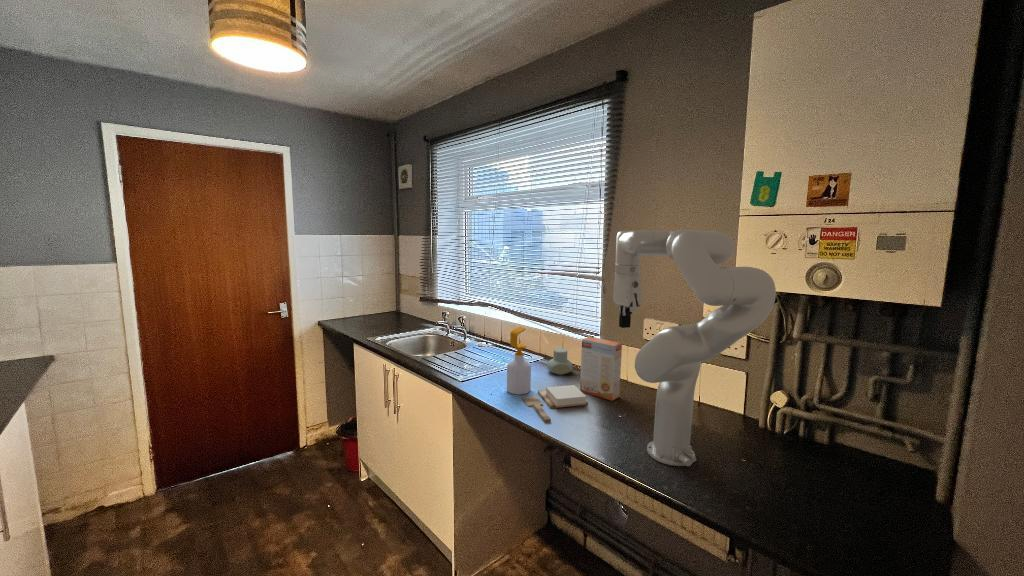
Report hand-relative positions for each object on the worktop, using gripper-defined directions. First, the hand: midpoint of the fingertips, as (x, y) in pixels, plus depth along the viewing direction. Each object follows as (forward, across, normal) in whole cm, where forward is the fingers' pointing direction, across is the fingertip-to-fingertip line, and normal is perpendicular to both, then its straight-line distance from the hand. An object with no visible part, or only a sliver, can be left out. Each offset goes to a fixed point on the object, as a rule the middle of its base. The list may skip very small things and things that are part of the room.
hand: (624, 326), depth 136 cm
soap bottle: (+31, +31, +26) cm, 51 cm away
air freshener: (+31, +46, +2) cm, 56 cm away
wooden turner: (+31, +13, +24) cm, 41 cm away
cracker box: (+31, +20, -3) cm, 37 cm away
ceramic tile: (+28, +11, +13) cm, 33 cm away
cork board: (+31, +20, +12) cm, 38 cm away
